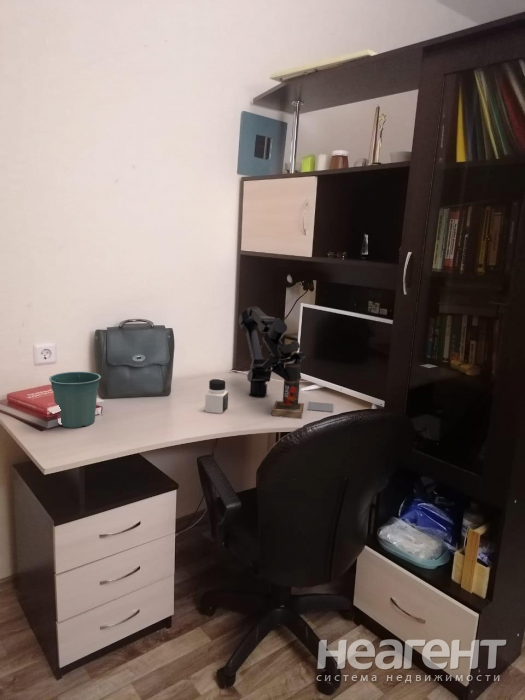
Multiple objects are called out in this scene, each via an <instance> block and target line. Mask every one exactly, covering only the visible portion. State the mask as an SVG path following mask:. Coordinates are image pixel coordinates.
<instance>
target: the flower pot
mask: <svg viewBox="0 0 525 700" xmlns="http://www.w3.org/2000/svg"><path fill="white" fill-rule="evenodd" d="M101 378H102V376H101V375H100V374H99V373H97V372H96V373H95V372H90V371H89V372H88V371H67V372H60V373H55V374H53V375H51V376H49V377H48V379H49V382H50V383H51V384H50V385H51V390H52V392H53V399H54V404H55V403H56V404H57V405H59V407H60V409H61V411H60V416H61V423H62V426H63V428H67V427H68V428H69V429H74V428H76V429H77V428H82V427H83V426H85V427H87V426H91V425H92V424H94V423H95V421H96V410H97V409H96V408H97V398H98V389H99V386H100V380H101ZM62 426H61V427H62ZM68 428H67V429H68Z"/></svg>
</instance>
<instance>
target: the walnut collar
mask: <svg viewBox="0 0 525 700" xmlns="http://www.w3.org/2000/svg"><path fill="white" fill-rule="evenodd" d="M286 408H287V409H286ZM296 409H299V410H296ZM303 412H304V402H298V404H297V405H293V406H291V405H285V404H283V400H275V402H274V405H273V407H272V409H271V416H272V417H280V416H282V418H290V417H292V418H293V419H302V418H303ZM292 418H291V419H292Z"/></svg>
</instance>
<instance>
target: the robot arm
mask: <svg viewBox="0 0 525 700" xmlns="http://www.w3.org/2000/svg"><path fill="white" fill-rule="evenodd" d="M237 320H238V321H237V322H238V325H239V327H240V329H241V331H242V332H243V333H244V334H245V335H246V339H247V343H248V349H249V353H250V354H249V355H250V357H251V365H250V366H249V371H248V372H247V375H246V377H247V381H248V382H249V384H250V386H249V389H250V390H249V394H248V395H249V397H255V398H257V397H258V398H266V395H267V394H268V384H267V382H268V383H270V381H271V377H272V373H274V374H275V375H278V376H279V377H280V378H282V379H283V380H284V379H285V380H286V381H288V382H289V381H290V378H289V376H288V374H287V372H286V370H285V364H288V363H294V364H299V365H300V362H302V360H304V359H305V358H306V355H305V353H304V352H303V351H299V349H300V348H301V345H300V344H301V343H299V342H298V340H294V341H291V343H288V344H287V343H286V342H285V343H283V342H282V341H281V339H283V336H284V335H285V333H286V332H287V330H288V326H287V323H285V322H284V321H283V320H281V318H280V317H274V316H268V315H267V314H266V313H264V311H263V310H261V307H259V306H249V307H247V309H246V310H244V311H242V312H241V313H240V314H239V316H238V319H237ZM257 329H258V330H259V332H260V333H265V334H264V335H263V336H262V340H261V342H262V344H264V343H265V345H266V347H267V349H268V350H269V352H268V355H269V356H272V357H269V358H268V359H267V358H264V356H263V354H262V348H261V344H260V340H259V335H258V331H257ZM300 379H302V374H301V373H300Z"/></svg>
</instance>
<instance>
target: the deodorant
mask: <svg viewBox="0 0 525 700" xmlns="http://www.w3.org/2000/svg"><path fill="white" fill-rule="evenodd" d="M301 366H302V365H301V364H300V363H299V364H294V363H284V368H285V370H286V372H287V374H288V376H289V378H290V381H289V382H288V381H286V380H285V379H283V392H282V394H283V395H282V401H283V404H285V405H291V406H293V405H297V404H298V403H299V395H300V394H299V393H300V383H301V381H300V380H301V378H300V374H301Z"/></svg>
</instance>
